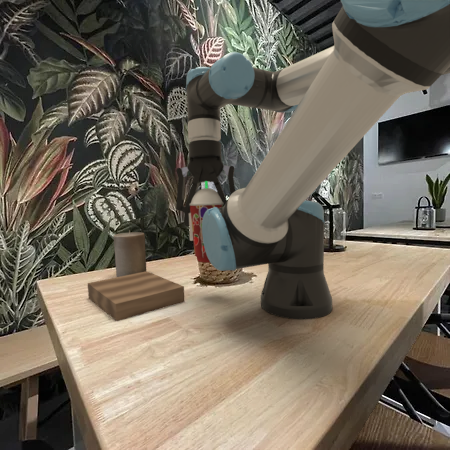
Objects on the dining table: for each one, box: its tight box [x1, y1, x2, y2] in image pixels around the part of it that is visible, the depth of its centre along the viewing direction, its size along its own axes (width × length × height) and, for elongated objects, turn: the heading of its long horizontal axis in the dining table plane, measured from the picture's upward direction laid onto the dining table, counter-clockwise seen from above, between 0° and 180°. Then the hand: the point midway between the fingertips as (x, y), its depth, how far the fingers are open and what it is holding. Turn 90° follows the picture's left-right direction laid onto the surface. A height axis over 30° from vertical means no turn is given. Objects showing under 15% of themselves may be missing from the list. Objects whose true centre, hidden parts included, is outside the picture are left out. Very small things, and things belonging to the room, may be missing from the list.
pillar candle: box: [113, 229, 147, 277], centre depth 94 cm, size 10×10×15 cm
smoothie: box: [189, 181, 224, 263], centre depth 68 cm, size 8×8×20 cm
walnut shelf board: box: [87, 270, 185, 322], centre depth 70 cm, size 20×16×4 cm
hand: (208, 239), depth 68 cm, fingers closed on smoothie, 7 cm apart
